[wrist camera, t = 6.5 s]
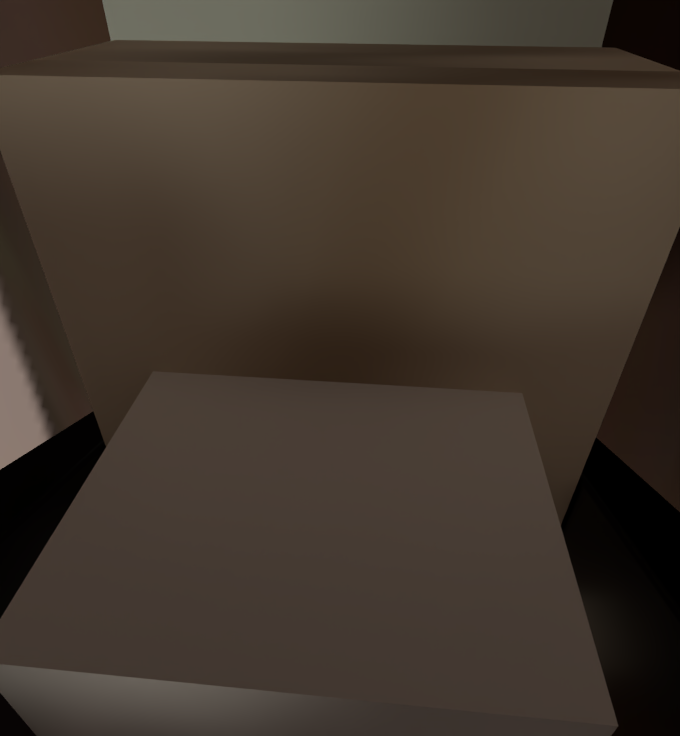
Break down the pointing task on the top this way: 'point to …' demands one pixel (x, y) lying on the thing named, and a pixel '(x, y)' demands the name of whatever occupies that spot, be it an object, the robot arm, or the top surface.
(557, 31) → the dock
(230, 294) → the tall tan box
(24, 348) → the top surface
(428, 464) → the box
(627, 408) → the top surface
